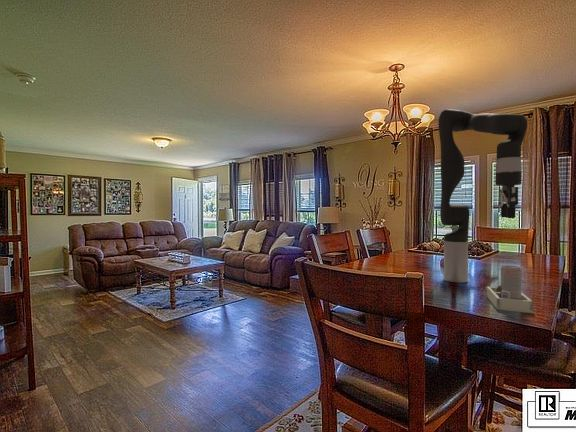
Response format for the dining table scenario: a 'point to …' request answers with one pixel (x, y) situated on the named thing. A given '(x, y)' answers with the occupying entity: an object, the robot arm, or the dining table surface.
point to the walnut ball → (498, 289)
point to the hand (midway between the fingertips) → (507, 217)
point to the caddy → (509, 302)
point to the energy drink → (511, 282)
